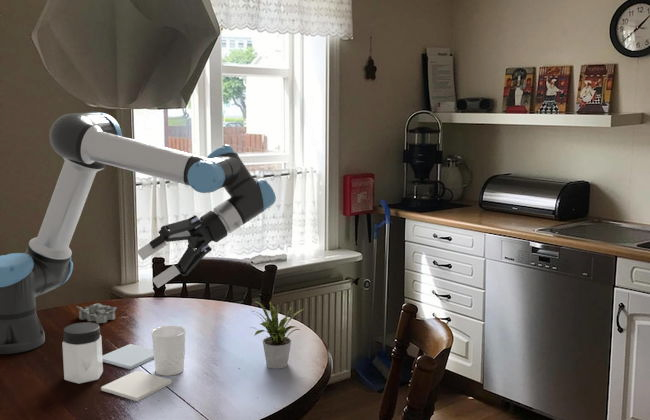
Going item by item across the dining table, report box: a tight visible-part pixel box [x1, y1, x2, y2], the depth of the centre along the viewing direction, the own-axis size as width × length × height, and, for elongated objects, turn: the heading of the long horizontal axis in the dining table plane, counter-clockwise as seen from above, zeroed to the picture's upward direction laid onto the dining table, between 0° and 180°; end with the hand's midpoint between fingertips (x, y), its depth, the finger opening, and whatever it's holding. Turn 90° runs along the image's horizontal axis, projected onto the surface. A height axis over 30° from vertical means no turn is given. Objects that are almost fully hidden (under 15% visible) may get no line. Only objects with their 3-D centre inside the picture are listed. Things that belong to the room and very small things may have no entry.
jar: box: [61, 321, 104, 384], centre depth 164 cm, size 9×8×12 cm
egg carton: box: [75, 302, 118, 324], centre depth 207 cm, size 11×8×4 cm
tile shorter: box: [100, 370, 172, 402], centre depth 160 cm, size 11×11×1 cm
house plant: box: [249, 300, 305, 370], centre depth 172 cm, size 14×14×16 cm
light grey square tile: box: [102, 343, 154, 370], centre depth 177 cm, size 11×11×1 cm
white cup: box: [151, 325, 186, 377], centre depth 169 cm, size 8×8×10 cm
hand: (147, 270), depth 168 cm, fingers open, 13 cm apart
